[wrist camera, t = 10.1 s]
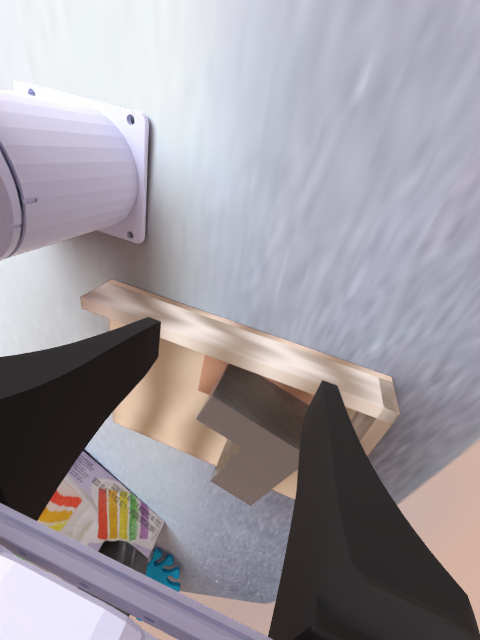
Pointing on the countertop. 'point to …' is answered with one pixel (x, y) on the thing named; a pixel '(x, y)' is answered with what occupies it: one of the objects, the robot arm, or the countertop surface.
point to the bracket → (253, 432)
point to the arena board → (209, 362)
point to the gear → (163, 571)
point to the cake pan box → (102, 517)
